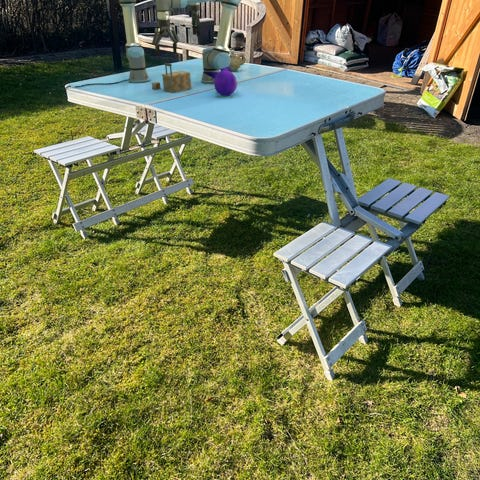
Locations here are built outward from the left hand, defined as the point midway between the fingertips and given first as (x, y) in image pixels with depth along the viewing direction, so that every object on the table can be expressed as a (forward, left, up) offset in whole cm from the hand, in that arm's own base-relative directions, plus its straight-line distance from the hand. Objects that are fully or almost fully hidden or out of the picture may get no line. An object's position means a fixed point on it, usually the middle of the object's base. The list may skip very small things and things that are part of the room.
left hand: (196, 35), depth 349 cm
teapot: (+29, -2, -28) cm, 40 cm away
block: (-41, -46, -28) cm, 68 cm away
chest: (-28, -55, -28) cm, 67 cm away
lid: (-28, -55, -18) cm, 64 cm away
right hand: (-33, -58, -5) cm, 67 cm away
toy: (-2, -79, -28) cm, 84 cm away
